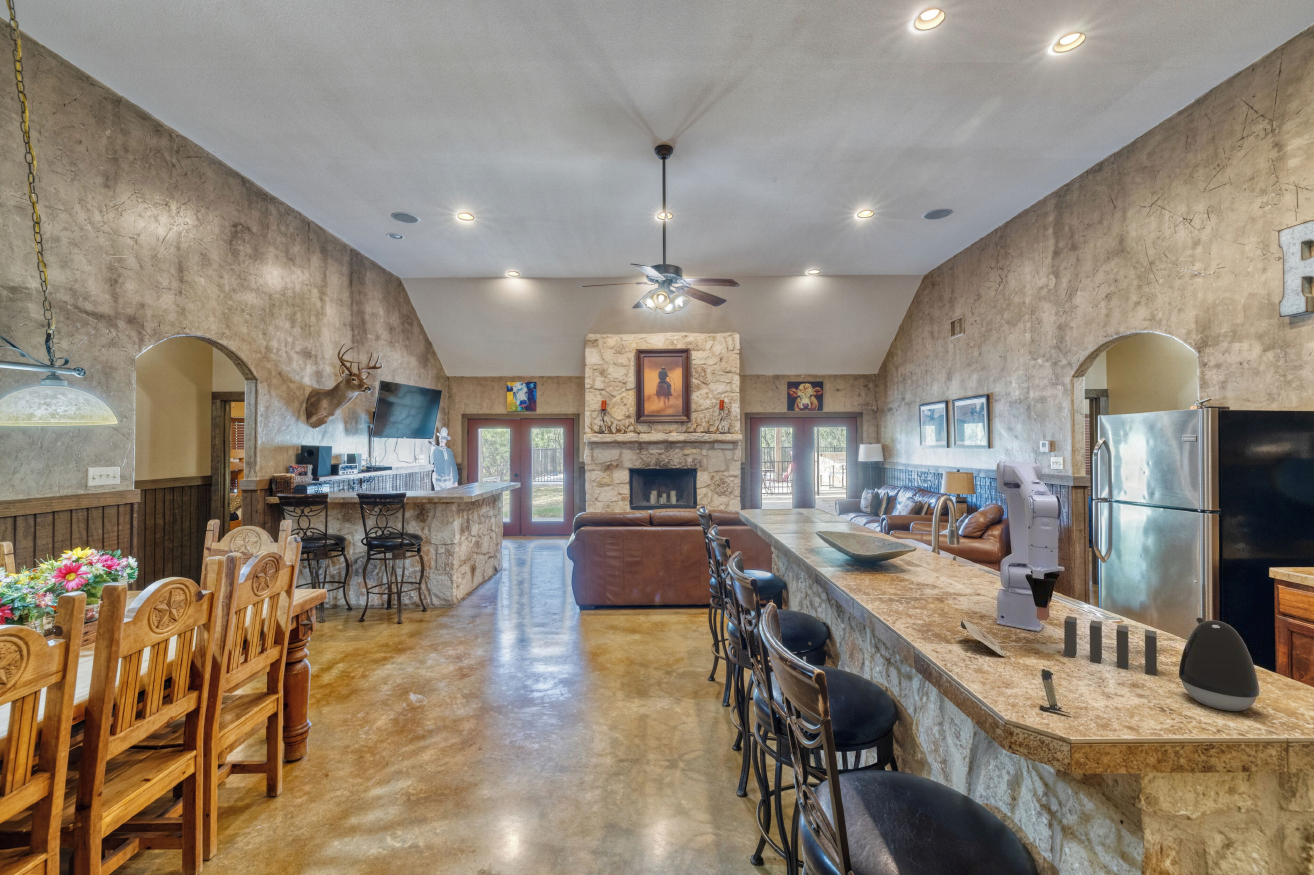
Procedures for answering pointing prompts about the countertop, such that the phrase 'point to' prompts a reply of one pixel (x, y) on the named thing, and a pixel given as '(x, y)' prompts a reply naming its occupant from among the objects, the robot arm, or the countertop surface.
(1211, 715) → the countertop surface
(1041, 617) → the loose domino
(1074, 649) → the domino
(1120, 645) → the domino
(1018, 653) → the countertop surface
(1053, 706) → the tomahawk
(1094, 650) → the domino
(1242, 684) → the black and grey speaker
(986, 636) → the wooden slab
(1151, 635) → the domino
